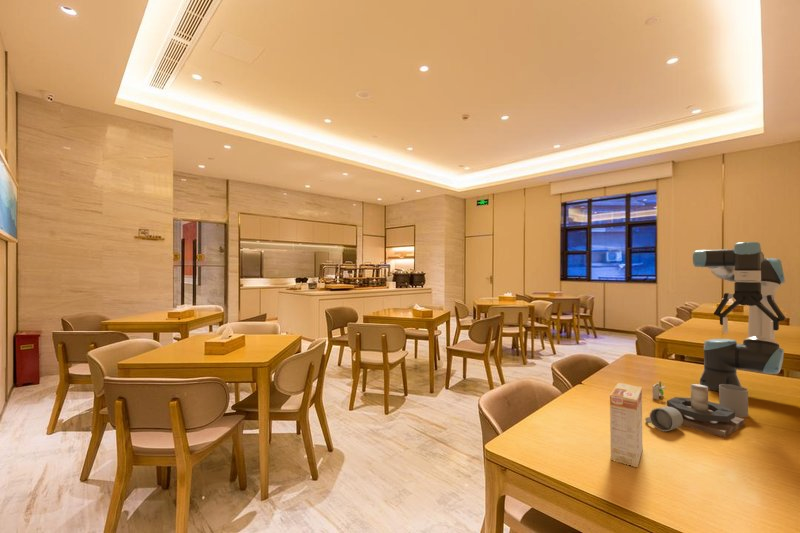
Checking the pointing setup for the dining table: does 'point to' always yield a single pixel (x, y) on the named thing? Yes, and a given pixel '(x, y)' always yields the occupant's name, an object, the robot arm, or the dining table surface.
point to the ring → (718, 413)
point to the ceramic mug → (665, 418)
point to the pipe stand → (701, 403)
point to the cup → (734, 399)
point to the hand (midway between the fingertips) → (748, 336)
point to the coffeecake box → (626, 424)
